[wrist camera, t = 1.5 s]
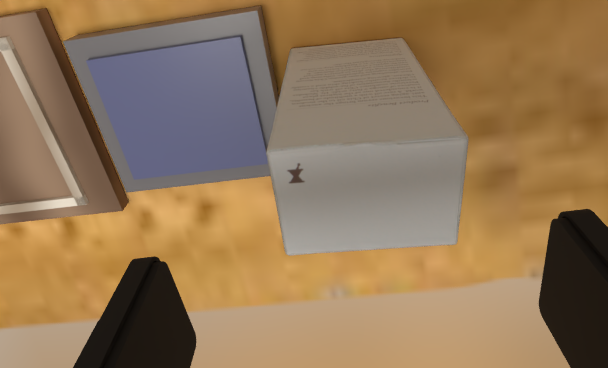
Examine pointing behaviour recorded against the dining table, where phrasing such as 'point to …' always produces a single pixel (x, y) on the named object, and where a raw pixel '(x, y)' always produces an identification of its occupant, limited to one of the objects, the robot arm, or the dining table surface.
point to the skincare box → (364, 151)
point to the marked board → (47, 130)
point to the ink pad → (182, 97)
